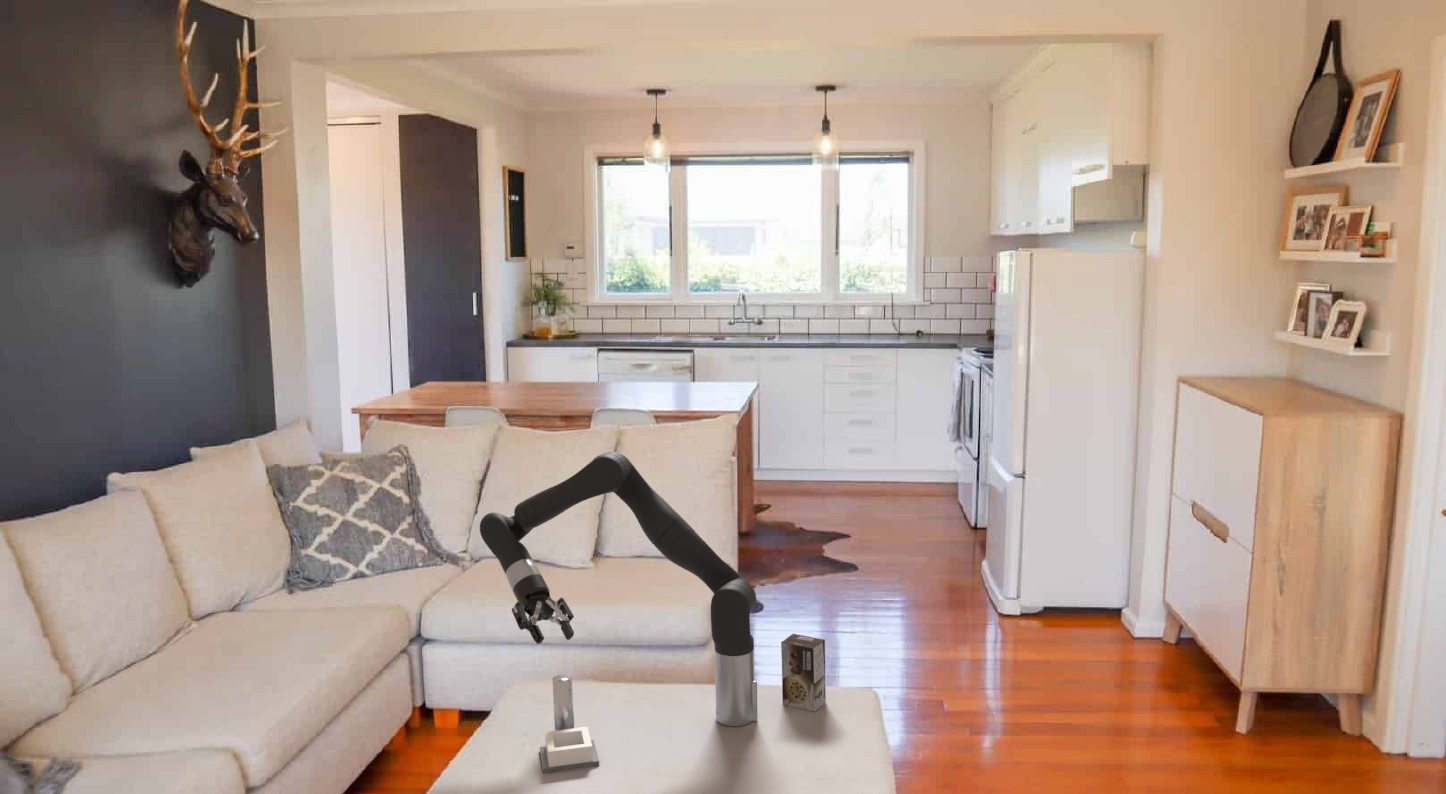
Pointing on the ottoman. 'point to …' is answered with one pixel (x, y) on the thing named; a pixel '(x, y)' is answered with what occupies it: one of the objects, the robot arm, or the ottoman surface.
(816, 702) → the cookie box
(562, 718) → the silver metal cylinder
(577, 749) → the dock
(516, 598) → the robot arm
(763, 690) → the ottoman surface
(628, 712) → the ottoman surface
